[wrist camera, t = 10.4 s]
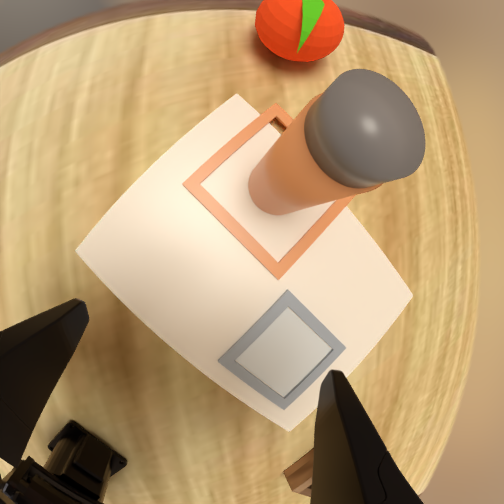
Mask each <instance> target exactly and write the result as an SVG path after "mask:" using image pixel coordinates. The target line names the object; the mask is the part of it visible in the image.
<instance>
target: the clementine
mask: <svg viewBox="0 0 504 504" xmlns="http://www.w3.org/2000/svg"><path fill="white" fill-rule="evenodd" d="M255 27H256V30H257V33H258V36H259V38H260V40H261V41H262V43H263V44H264V45H265V46H266V47H267V48H268V49H270V50H271V51H272V52H273V53H275V54H276V55H278V56H280V57H282V58H285V59H288V60H292V61H301V62H309V61H314V60H318V59H321V58H323V57H325V56H327V55H329V54H330V53H331V52H332V51H334V50H335V49H336V48H337V46H338V45H339V44H340V42H341V40H342V37H343V33H344V21H343V17H342V14H341V12H340V10H339V8H338V7H337V6H336V4H335V3H334V2H333V1H332V0H263V1H262V3H261V4H260V6H259V8H258V10H257V11H256V20H255Z"/></svg>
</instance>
